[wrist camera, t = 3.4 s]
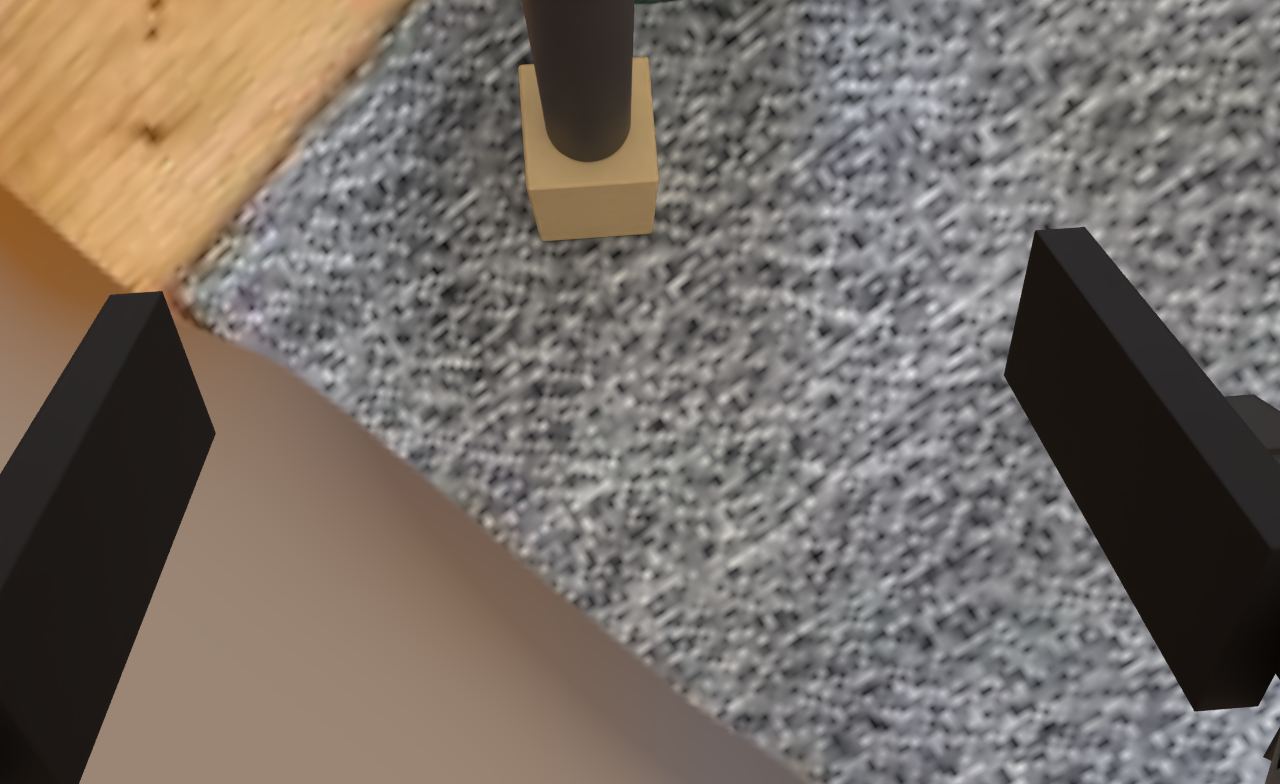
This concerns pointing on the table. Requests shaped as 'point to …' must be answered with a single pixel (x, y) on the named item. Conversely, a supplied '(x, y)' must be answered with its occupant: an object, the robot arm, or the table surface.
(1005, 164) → the table surface
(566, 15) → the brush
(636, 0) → the green plastic cup
